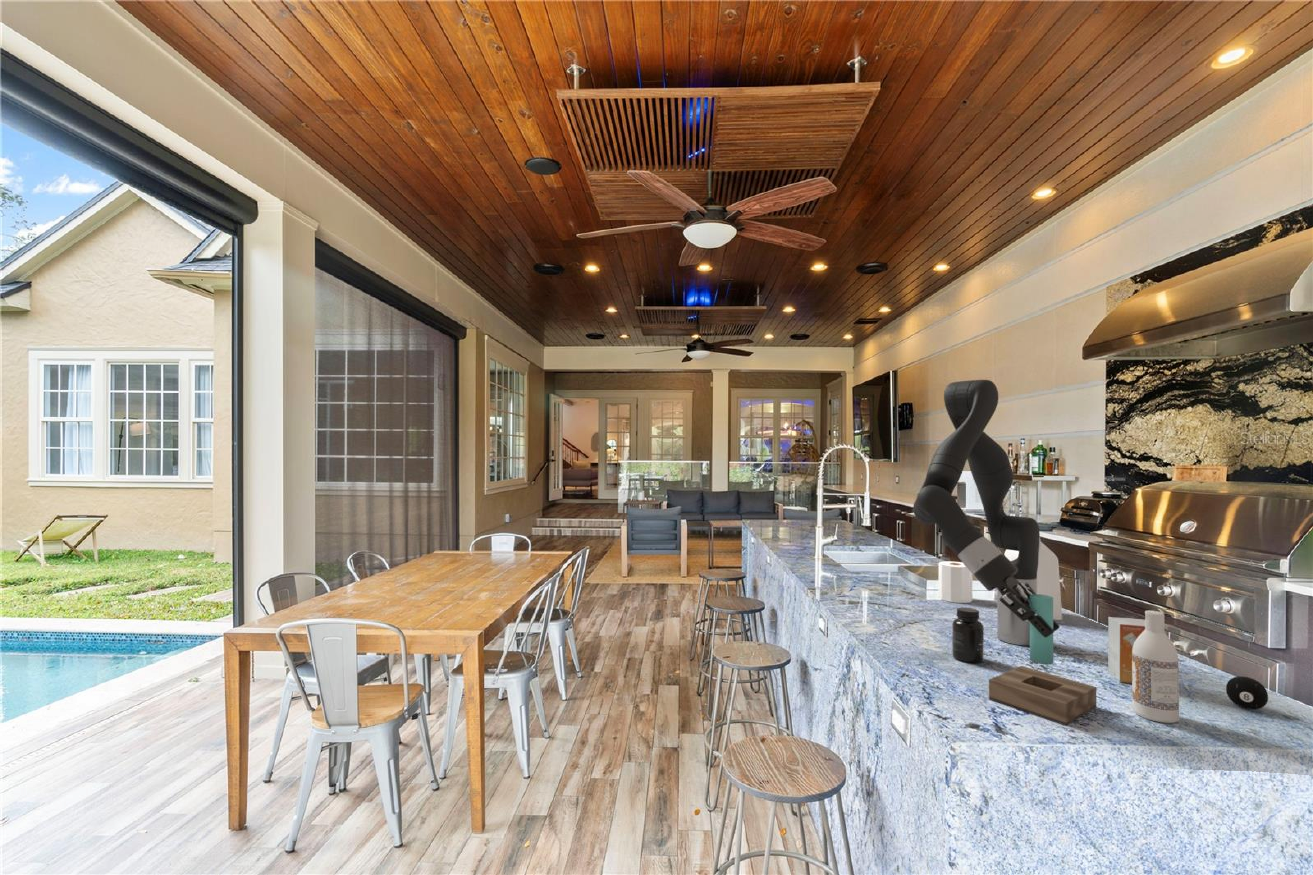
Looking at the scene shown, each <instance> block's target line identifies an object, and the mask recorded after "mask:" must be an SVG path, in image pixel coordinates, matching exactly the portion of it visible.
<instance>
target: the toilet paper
mask: <svg viewBox="0 0 1313 875" xmlns="http://www.w3.org/2000/svg"><path fill="white" fill-rule="evenodd" d="M973 592H974V590H973V574H972V573H971V572H970V571H969V569H968V568H967V567H966V566H965V565H964V564H963V562H962V561H951V560H950V561H947V560H946V561H940V562H938V598H939V599H941V600H942V601H945V602H950V603H957V604H958V603H959V604H968V603H971V602H973V599H974V598H973V595H974V594H973Z"/></svg>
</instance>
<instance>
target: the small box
mask: <svg viewBox="0 0 1313 875" xmlns="http://www.w3.org/2000/svg"><path fill="white" fill-rule="evenodd" d="M1107 618H1108V619H1107V620H1108V623H1107V624H1108V625H1107V627H1108V629H1107V630H1108V633H1107V634H1108V635H1107V637H1108V640H1107V641H1108V642H1107V643H1108V644H1107V646H1108V647H1107V650H1108V652H1107V654H1108V655H1107V656H1108V661H1107V662H1108V664H1107V665H1108V669H1107V670H1108V673H1109V674H1110V675H1111V676H1112V677H1113V678H1114V679H1115V680H1117V681H1118V682H1120V683H1128V684H1132V649H1133V645H1134V642H1135V641H1136V639H1137V638H1138V636H1139V635H1140V634H1141V633H1142V632H1143V631H1144V630H1145V619H1142V618H1141V619H1140V618H1132V617H1118V616H1117V617H1115V616H1114V617H1113V616H1112V617H1111V616H1108V617H1107Z"/></svg>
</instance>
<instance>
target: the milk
mask: <svg viewBox="0 0 1313 875" xmlns="http://www.w3.org/2000/svg"><path fill="white" fill-rule="evenodd" d="M1003 554H1004V555H1005V556H1006V557H1007V558H1008V559H1009V560H1010V561H1013V560H1015V559H1017V558H1018V554H1019V551H1014V550H1007V549H1005V551H1004V553H1003ZM1059 565H1060V564H1059V558H1058V556H1057V555H1056V554H1055V553H1054V552H1053V551H1052V550H1051V549H1050V548H1048V546H1046V544H1044V543H1043V542H1042V540H1041V537H1040V538H1039V556H1038V569H1037V594H1040V595H1047V596H1051V597H1053V619H1054V620H1055V621H1063V610H1062V609H1063V608H1062V597H1061V596H1062V594H1061V581H1060V567H1059Z"/></svg>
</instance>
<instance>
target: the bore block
mask: <svg viewBox="0 0 1313 875" xmlns="http://www.w3.org/2000/svg"><path fill="white" fill-rule="evenodd" d="M988 700H990V701H992V702H996V703H998V704H1002V705H1004V706H1005V705H1006V706H1007V707H1011V708H1013V709H1017V710H1019V711H1022V712H1026V713H1029V714H1031V715H1034V716H1038V717H1040V718H1043V719H1046V720H1049V721H1052V722H1055V723H1058V724H1061V725H1064V726H1067V725H1069V724H1071V723H1072V722H1075V721H1076V720H1078V719H1079V718H1081V717H1082V716H1084V715H1086V714H1088V713H1089V712H1091V711H1092V710H1094V709H1096V708H1097V687H1096V686H1094V685H1090V684H1087V683H1083V682H1080V681H1076V680H1073V679H1069V678H1065V677H1062V676H1058V675H1056V674H1051V673H1048V672H1044V671H1041V670H1038V669H1033V668H1030V667H1027V666H1023V665H1020V666H1018V667H1016V668H1012V669H1011V670H1008V671H1006V672H1004V673H1001V674H999V675H997V676H993V677H992V678H990V679H988Z"/></svg>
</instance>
